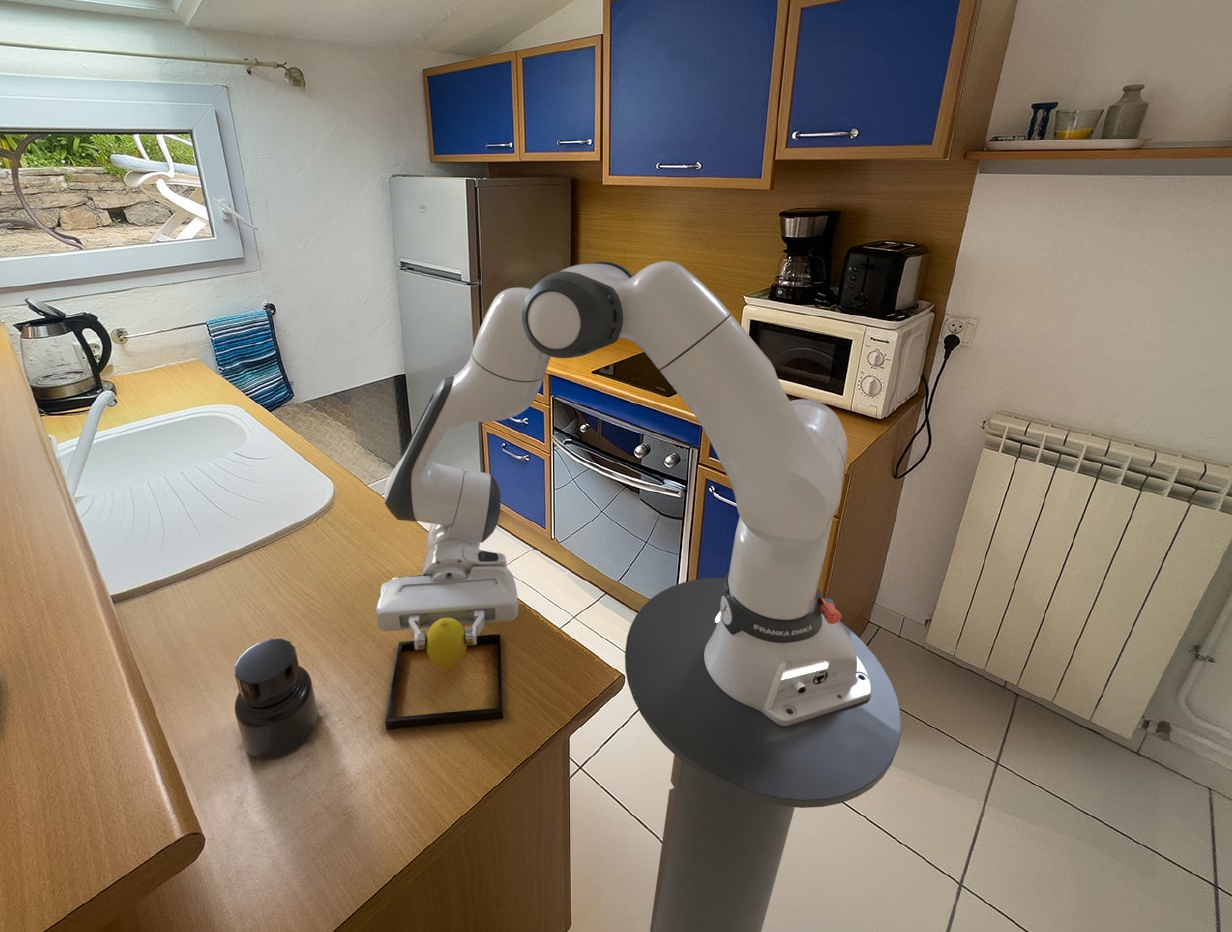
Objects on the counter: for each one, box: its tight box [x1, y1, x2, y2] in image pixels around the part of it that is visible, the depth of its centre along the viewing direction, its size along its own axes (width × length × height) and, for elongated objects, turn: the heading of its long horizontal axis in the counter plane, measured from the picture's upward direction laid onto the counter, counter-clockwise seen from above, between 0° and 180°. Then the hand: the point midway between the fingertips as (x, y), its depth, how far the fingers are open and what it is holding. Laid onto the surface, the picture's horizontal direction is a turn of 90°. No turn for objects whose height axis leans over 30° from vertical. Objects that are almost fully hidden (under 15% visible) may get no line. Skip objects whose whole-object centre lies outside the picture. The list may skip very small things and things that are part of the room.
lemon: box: [425, 618, 468, 670], centre depth 79 cm, size 6×6×8 cm
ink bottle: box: [234, 638, 319, 760], centre depth 73 cm, size 10×9×12 cm
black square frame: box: [384, 633, 504, 731], centre depth 82 cm, size 15×13×2 cm
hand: (445, 643), depth 78 cm, fingers closed on lemon, 5 cm apart
